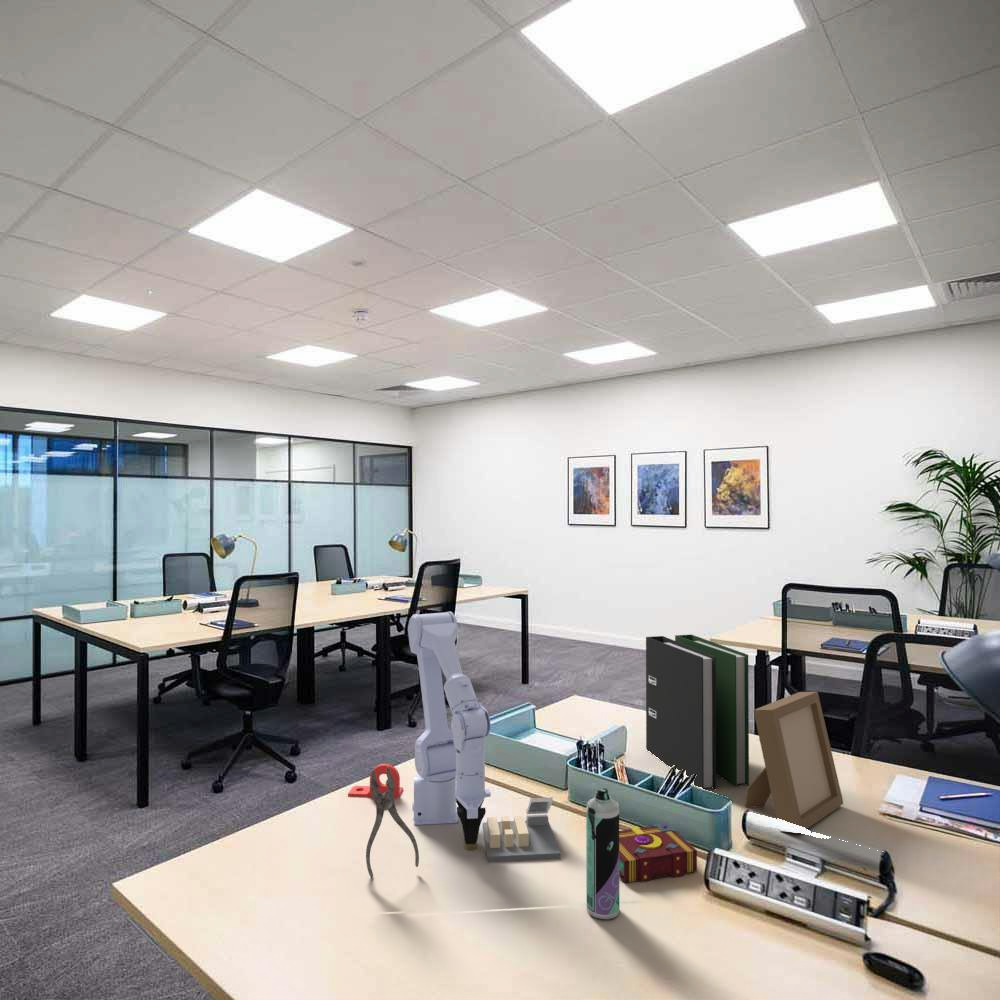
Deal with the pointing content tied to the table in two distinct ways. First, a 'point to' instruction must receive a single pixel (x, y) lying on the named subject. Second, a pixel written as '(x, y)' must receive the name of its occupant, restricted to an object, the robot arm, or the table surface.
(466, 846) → the pin
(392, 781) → the pliers
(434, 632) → the robot arm
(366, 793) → the bracket
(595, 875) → the spray can
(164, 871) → the table surface
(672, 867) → the decorative book
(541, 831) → the board
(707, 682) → the binder
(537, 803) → the grey flat plate
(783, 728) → the photo frame
